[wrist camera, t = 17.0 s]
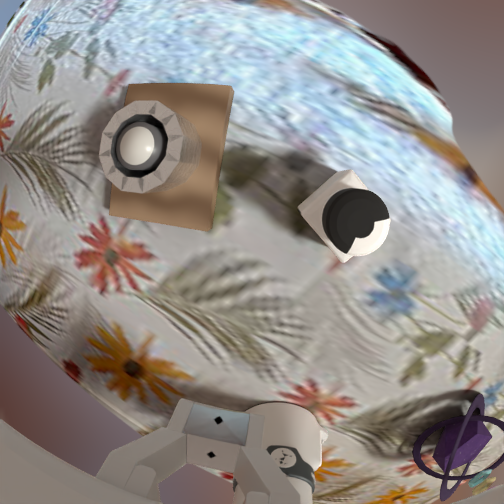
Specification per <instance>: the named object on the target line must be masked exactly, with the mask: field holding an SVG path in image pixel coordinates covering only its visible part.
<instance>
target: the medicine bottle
mask: <svg viewBox="0 0 504 504" xmlns="http://www.w3.org/2000/svg"><path fill="white" fill-rule="evenodd" d="M297 209H298V211H299V212H300V214H301V215H302V217H303V218H304V219H305V220H306V221H307V222H308V224H309V225H310V226H311V227H312V228H313V229H314V231H315V232H316V233H317V234H318V235H319V236H320V238H321V239H322V240H323V241H324V242H325V243H326V245H327V246H328V247H329V248H330V249H331V251H332V252H333V253H334V254H335V255H336V257H337V258H338V259H339V260H340V261H341V262H342V263H345V262H346V261H348V260H349V259H350V258H351V257H352V256H363V255H367V254H369V253H372V252H373V251H375V250H376V249H377V248H379V247H380V246H381V244H382V243H383V242H384V240H385V238H386V236H387V234H388V231H389V225H390V222H391V220H390V218H389V213H388V210H387V207H386V205H385V204H384V202H383V201H382V200H381V198H380V197H379V196H377V195H376V194H375V193H373V192H371V191H369V190H368V189H367V187H366V186H365V185H364V184H363V182H362V181H361V180H360V179H359V177H358V176H357V175H356V174H355V173H354V171H353V170H344V171H338V172H336V173H335V174H334V175H333V176H332V177H330V178H329V179H328V180H327V181H326V182H325V183H324V184H323V185H321V186H320V187H319V188H318V189H317V190H316V191H315V192H313V193H312V194H311V195H310V196H309V197H308V198H307V199H305V200H304V201H303V202H302V203H301V204H300V205H299V206H298V207H297Z"/></svg>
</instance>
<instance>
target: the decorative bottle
mask: <svg viewBox="0 0 504 504" xmlns="http://www.w3.org/2000/svg"><path fill="white" fill-rule="evenodd" d="M476 408H479V409H480V415H472V413H473V411H474V410H475V409H476ZM484 409H485V404H484V397H483V395H482V394H478V395H477V397H476V398H475V399H474V401H473V402H472V404H471V406H470V407H469V410H468V412H467V414H466V415H465V416H460V417H453V418H450V419H448V420H445V421H441V422H439V423H437V424H435V425H433V426H432V427H430V428H428V429H427V430H426V431H425V432H423V433H422V434H421V435H420V436H419V437H418V439H417V440H416V442H415V443H414V447H413V451H412V454H413V458H414V461H415V463H416V464H417V466H418V467H419V468H420V469H421V470H422V471H424V472H425V473H426V474H428V475H431V476H433V477H436V478H439V479H443V480H442V484H441V489H440V499H441V501H445V500H446V499H447V498H449V497H450V496H451V495H452V494H453V493H454V491H455V490H456V488H457V487H458V486H459V484H460V483H461V481H462V480H466V479H471V478H472V479H471V480H470V481H469V483H468V484H469V486H470V487H474V486H476V485H478V484H479V483H480V484H479V485H478V486H477V487H475V488H474V489H473V491H472V493H473V495H477V494H479V493H481V492H483V491H484V490H486V489H488V488H489V487H490V486H491V485H492V483H493V482H494V481H495V479H496V477H493V478H489V479H486V478H487V477H488V475H489V474H490V473H491V471H492V470H493V469H494V468H496V467H497V466H499V465H500V464H501V463H502V462H503V461H504V453H503V455H502V456H501V457H500V459H499V460H498V461H497V462H495V463H494V464H493V465H492V466H490V467H489V468H487V469H485V470H483V471H481V472H478V473H475V474H472V475H466V476H465V474H466V472H467V470H468V468H469V466H470V463H471V461H473V460H474V458H475V457H476V456H477V455H478V454H479V453H480V451H481V450H482V449H483V448H484V447H485V445H486V444H487V443H488V442H489V440H490V439H491V438H492V435H491V434H490V432H489V431H488V429H487V428H486V426H485V425H484V424H485V423H484V424H483V421H485V422H490V423H492V424H494V425H497V426H498V427H499V428H501V429H502V430H503V431H504V422H503V421H501V420H498V419H496V418H494V417H489V416H484ZM444 426H446V427H445V428H444V430H443V432H442V434H441V436H440V438H439V441H438V443H437V446H436V449H435V451H434V454H433V456H432V457H433V458H434V459H435V461H436V462H437V463H438V465H439V466H440V468H441V469H442V470H443V472H444V475H442V474H439V473H436V472H434V471H432V470H431V469H429V468H428V467H427V466H425V464H424V463H423V461H422V460H421V455H420V450H421V446H422V444H423V443H424V441H425V440H426V438H427V437H428V436H430V435H431V434H432V433H433V432H434V431H436V430H438V429H440V428H442V427H444ZM488 444H489V443H488ZM480 454H481V453H480ZM466 463H467V465H466V468H465V470H464V471H463V473H462V475H461V476H449V472H450V470H452V469H455V468H457V467H459V466H462V465H464V464H466ZM451 475H452V474H451ZM482 475H484V476H483V477H482V478H480V477H481V476H482ZM479 478H480V479H479ZM485 479H486V480H485ZM448 480H458V481H457V483H456V484H455V485H454V486H453V487H452V488H451V489H450V490H449V489H447V481H448ZM481 482H482V483H481ZM486 484H487V485H486ZM483 486H484V487H483ZM497 486H499V485H497ZM494 487H496V486H494ZM494 487H491V488H494ZM491 488H489V489H491ZM489 489H488V490H489ZM486 491H487V490H486Z"/></svg>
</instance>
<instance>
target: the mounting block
mask: <svg viewBox="0 0 504 504" xmlns="http://www.w3.org/2000/svg"><path fill="white" fill-rule="evenodd" d="M233 95H234V90H233V89H232V87H231V86H228V85H214V84H193V83H144V84H129V86H128V90H127V94H126V99H125V103H124V107H125V106H127V105H129V104H130V103H132V102H134V101H159V102H160V103H162V104H164V105H165V106H167V107H169V108H170V109H172V110H174V111H175V112H177V113H178V114H180V115H181V116H183V117H184V118H185V119H187V120H188V121H190V122H191V123H192V124H194V125H195V127H196V130H197V132H198V135H199V137H200V140H201V143H202V148H201V154H200V160H199V165H198V167H197V168H196V169H195V171H194V172H193V173H192V175H191V176H190V177H189V179H188V180H187V181H186V182H185V183H183V184H181V185H179V186H176V187H174V188H172V189H170V190H168V191H159V192H150V193H135V192H127V191H121V190H120V189H119V188H117V187H116V186H115V185H114V184H113V183H112V187H111V198H110V210H109V215H111V216H117V217H123V218H129V219H136V220H142V221H148V222H154V223H160V224H166V225H172V226H178V227H184V228H190V229H195V230H201V231H209V230H210V229H212V225H213V218H214V210H215V203H216V197H217V190H218V183H219V177H220V170H221V164H222V158H223V152H224V146H225V140H226V134H227V128H228V122H229V117H230V111H231V106H232V100H233Z"/></svg>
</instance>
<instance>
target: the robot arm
mask: <svg viewBox="0 0 504 504" xmlns="http://www.w3.org/2000/svg"><path fill="white" fill-rule="evenodd" d="M327 438H328V431H327V430H326V429H325V428H323V427H321V426H320V425H319V424H318V422H317V420H316V419H315V417H314V416H313V415H312V414H311V413H310V412H309V411H308V410H306V409H304V408H302V407H300V406H297V405H293V404H288V403H266V404H261V405H257V406H254V407H252V408H250V409H248V410H246V411H245V412H241V411H235V410H230V409H225V408H219V407H215V406H211V405H207V404H203V403H199V402H194V401H191V400H187V399H183V398H181V399H180V400H179V401H178V404H177V406H176V408H175V410H174V412H173V415H172V417H171V419H170V421H169V423H168V426H167V428H163V427H162V428H160V429H158V430H156V431H154V432H152V433H150V434H148V435H146V436H144V437H142V438H140V439H137V440H135V441H133V442H131V443H129V444H127V445H125V446H122V447H120V448H118V449H116V450H113V451H111V452H110V454H109V455H108V457H107V459H106V460H105V462H104V464H103V465H102V467H101V469H100V470H99V472H98V474H97V475H96V477H94V476H91V475H89V474H87V473H85V472H83V471H81V470H79V469H78V468H75V467H74V466H72V465H70V464H68V463H66V462H65V461H63V460H61V459H59V458H58V457H56V456H54V455H52V454H51V453H49V452H47V451H46V450H44V449H43V448H41V447H39V446H38V445H36V444H35V443H33V442H32V441H30V440H29V439H27V438H26V437H25V436H23V435H22V434H20V433H19V432H17V431H16V430H15V429H13V428H12V427H11V426H9V425H8V424H7V423H6V422H4V421H3V420H2V419H0V504H163V503H161V499H160V494H159V488H158V483H160V482H161V481H163V480H164V479H165V478H167V477H168V476H169V475H171V474H173V473H174V472H175V471H177V470H178V469H179V468H181V467H182V466H184V465H185V464H186V463H189V464H194V465H198V466H203V467H208V468H212V469H217V470H221V471H226V472H231V473H233V475H234V478H233V490H234V492H235V494H234V500H233V504H313V503H312V494H313V492H314V488H315V477H314V471H316V470H317V469H318V467H319V466H321V463H322V448H321V445H322V443H323V442H324V441H325V440H326V439H327ZM451 504H504V485H499V486H496V487H494V488H491V489H489V490H487V491H484V492H482V493H479V494H477V495H474V496H472V497H469V498H466V499H463V500H460V501H458V502H454V503H451Z"/></svg>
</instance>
